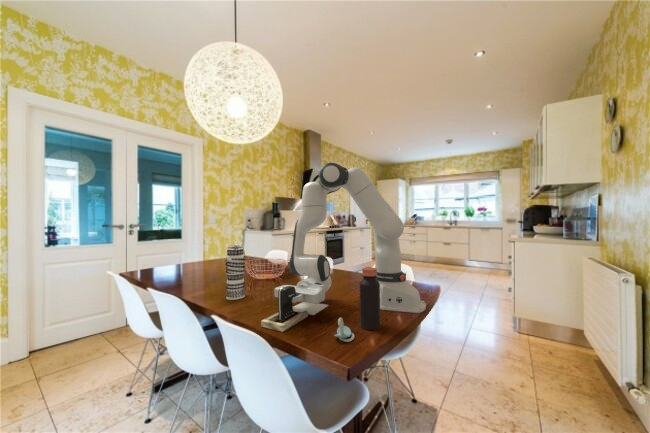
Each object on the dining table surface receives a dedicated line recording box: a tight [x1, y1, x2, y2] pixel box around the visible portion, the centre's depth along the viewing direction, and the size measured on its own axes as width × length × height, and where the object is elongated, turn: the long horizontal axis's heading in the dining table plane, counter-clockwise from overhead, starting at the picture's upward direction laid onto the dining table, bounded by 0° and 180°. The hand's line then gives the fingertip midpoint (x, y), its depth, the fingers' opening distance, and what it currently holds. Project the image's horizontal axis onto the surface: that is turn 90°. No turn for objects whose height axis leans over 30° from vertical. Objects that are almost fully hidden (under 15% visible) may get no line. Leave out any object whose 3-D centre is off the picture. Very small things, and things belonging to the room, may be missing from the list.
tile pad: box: [293, 302, 329, 316], centre depth 109 cm, size 12×12×1 cm
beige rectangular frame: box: [260, 311, 309, 333], centre depth 95 cm, size 9×16×2 cm, turn 151°
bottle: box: [359, 266, 381, 331], centre depth 90 cm, size 7×7×20 cm
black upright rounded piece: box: [277, 285, 296, 321], centre depth 96 cm, size 7×4×11 cm, turn 152°
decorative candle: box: [225, 244, 246, 301], centre depth 126 cm, size 9×9×25 cm
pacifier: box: [334, 317, 355, 343], centre depth 82 cm, size 7×6×6 cm
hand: (286, 299), depth 96 cm, fingers closed on black upright rounded piece, 4 cm apart
